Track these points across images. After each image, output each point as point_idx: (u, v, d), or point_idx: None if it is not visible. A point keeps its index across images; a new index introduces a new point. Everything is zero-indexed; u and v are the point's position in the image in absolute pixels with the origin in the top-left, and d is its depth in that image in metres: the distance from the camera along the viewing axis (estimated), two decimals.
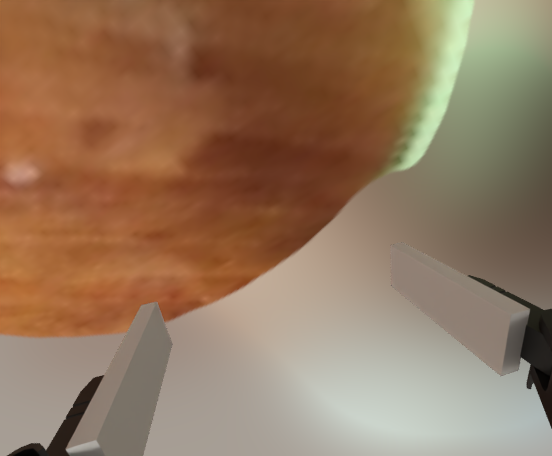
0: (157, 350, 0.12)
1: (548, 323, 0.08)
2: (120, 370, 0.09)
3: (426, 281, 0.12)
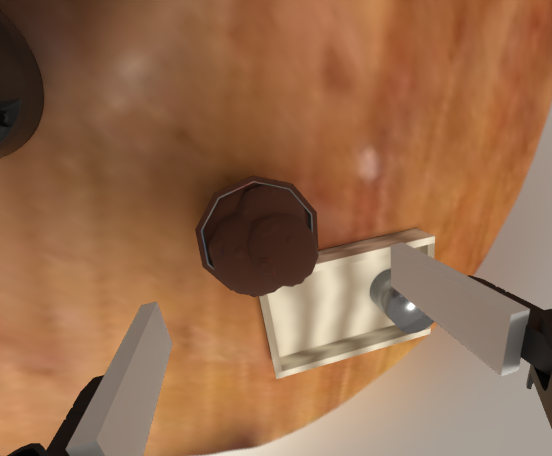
0: (157, 350, 0.12)
1: (548, 323, 0.08)
2: (120, 370, 0.09)
3: (426, 281, 0.12)
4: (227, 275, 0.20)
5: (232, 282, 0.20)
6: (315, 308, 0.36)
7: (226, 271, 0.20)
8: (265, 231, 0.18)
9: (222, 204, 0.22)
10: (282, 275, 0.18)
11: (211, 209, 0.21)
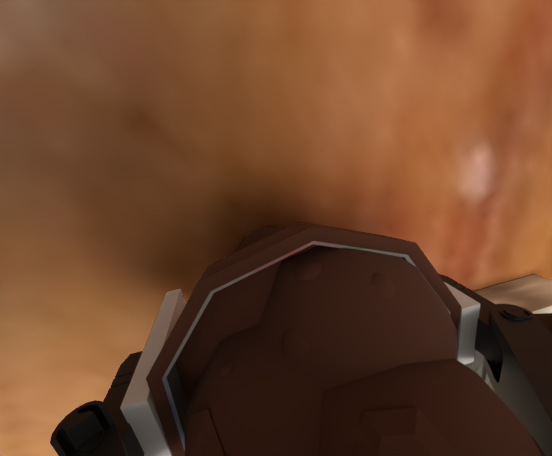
0: None
1: (496, 318, 0.09)
2: (157, 345, 0.10)
3: None
4: None
5: None
6: None
7: None
8: None
9: (223, 299, 0.08)
10: None
11: (190, 324, 0.07)
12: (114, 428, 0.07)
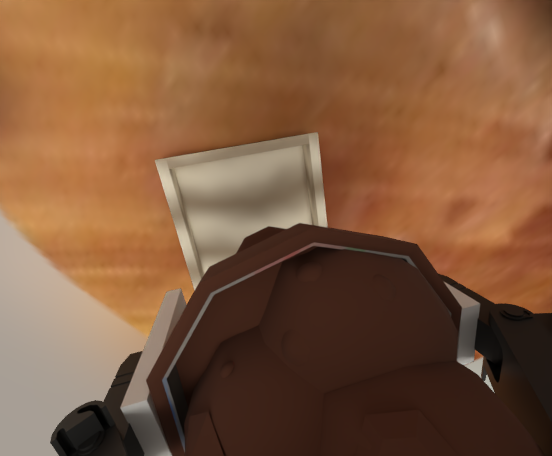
0: None
1: (496, 318, 0.09)
2: (157, 345, 0.10)
3: None
4: None
5: None
6: (249, 212, 0.30)
7: None
8: None
9: (223, 301, 0.08)
10: None
11: (191, 326, 0.07)
12: (114, 428, 0.07)
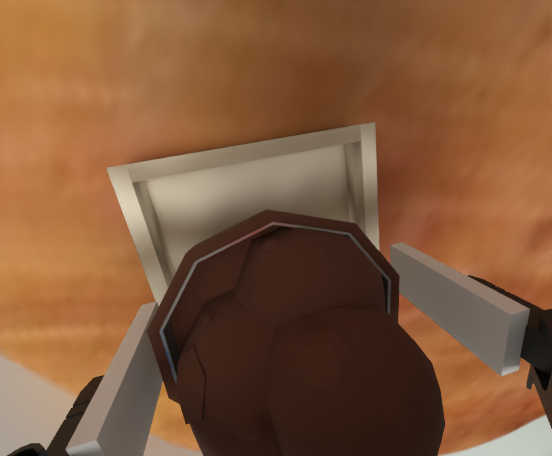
0: None
1: (548, 323, 0.08)
2: (120, 370, 0.09)
3: (426, 281, 0.12)
4: None
5: None
6: None
7: (214, 455, 0.08)
8: (320, 384, 0.06)
9: (206, 270, 0.10)
10: None
11: (180, 287, 0.09)
12: None
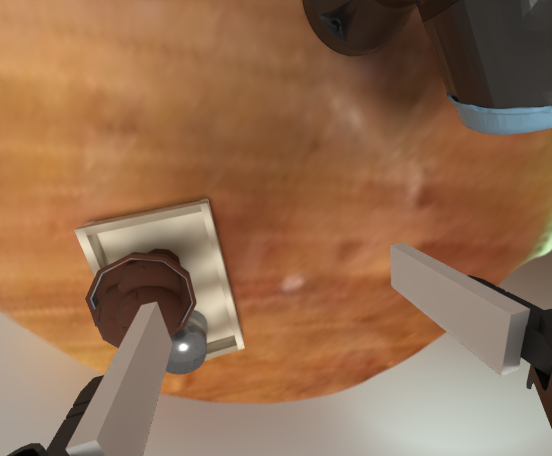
0: (157, 350, 0.12)
1: (548, 323, 0.08)
2: (120, 370, 0.09)
3: (426, 281, 0.12)
4: (105, 337, 0.25)
5: (110, 342, 0.25)
6: None
7: (103, 334, 0.25)
8: (125, 306, 0.23)
9: (108, 276, 0.27)
10: None
11: (97, 282, 0.26)
12: None
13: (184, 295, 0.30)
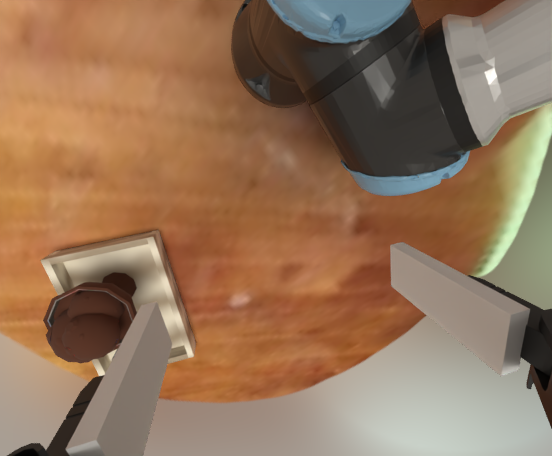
0: (157, 350, 0.12)
1: (548, 323, 0.08)
2: (120, 370, 0.09)
3: (426, 281, 0.12)
4: (55, 353, 0.32)
5: (60, 357, 0.32)
6: None
7: (54, 351, 0.31)
8: (68, 331, 0.30)
9: (62, 302, 0.34)
10: (79, 356, 0.30)
11: (52, 308, 0.33)
12: None
13: (127, 317, 0.36)
